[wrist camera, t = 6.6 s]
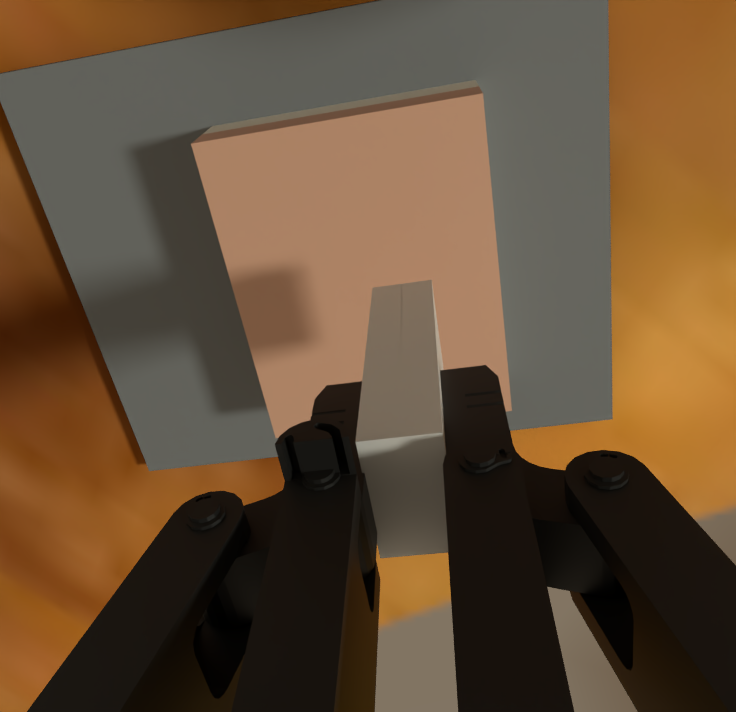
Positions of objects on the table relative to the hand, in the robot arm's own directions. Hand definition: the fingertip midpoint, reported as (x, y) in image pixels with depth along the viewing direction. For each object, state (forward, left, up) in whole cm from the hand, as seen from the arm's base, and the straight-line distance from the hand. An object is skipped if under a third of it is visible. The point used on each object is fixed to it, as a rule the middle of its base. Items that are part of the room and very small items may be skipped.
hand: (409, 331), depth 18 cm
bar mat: (0, -3, -6) cm, 7 cm away
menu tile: (0, +3, -5) cm, 5 cm away
